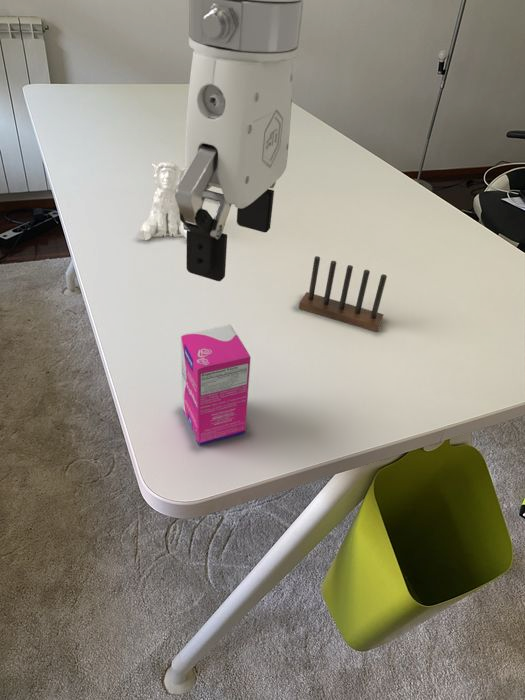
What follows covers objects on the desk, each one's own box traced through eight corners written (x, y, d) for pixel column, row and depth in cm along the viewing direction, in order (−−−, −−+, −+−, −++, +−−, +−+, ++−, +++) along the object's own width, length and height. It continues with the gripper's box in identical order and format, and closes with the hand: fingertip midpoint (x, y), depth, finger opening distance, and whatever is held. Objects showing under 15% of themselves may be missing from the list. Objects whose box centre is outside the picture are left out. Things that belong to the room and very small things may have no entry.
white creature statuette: (138, 241, 93) (134, 172, 86) (139, 218, 100) (135, 152, 92) (194, 241, 95) (195, 174, 87) (192, 219, 101) (192, 154, 94)
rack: (382, 320, 81) (395, 272, 76) (377, 332, 79) (390, 283, 73) (305, 298, 84) (312, 250, 79) (298, 308, 82) (305, 260, 76)
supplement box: (180, 411, 63) (179, 332, 56) (228, 399, 65) (233, 322, 58) (196, 447, 59) (197, 367, 52) (246, 434, 61) (254, 355, 54)
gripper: (243, 56, 30) (227, 312, 41) (333, 20, 43) (303, 222, 53) (125, 33, 32) (139, 284, 42) (245, 5, 45) (233, 204, 55)
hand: (231, 249), depth 48 cm, fingers open, 9 cm apart
